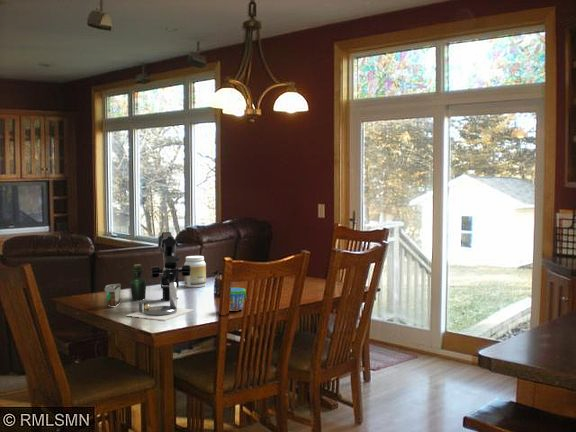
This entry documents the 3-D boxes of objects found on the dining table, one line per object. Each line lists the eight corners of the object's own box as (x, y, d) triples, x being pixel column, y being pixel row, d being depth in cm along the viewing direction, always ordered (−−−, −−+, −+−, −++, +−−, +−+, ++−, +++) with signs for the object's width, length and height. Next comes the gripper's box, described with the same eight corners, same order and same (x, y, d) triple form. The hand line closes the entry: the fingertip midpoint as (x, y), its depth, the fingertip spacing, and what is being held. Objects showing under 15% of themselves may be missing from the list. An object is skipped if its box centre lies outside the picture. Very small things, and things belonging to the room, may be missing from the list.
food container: (108, 303, 325) (108, 283, 324) (121, 303, 325) (120, 283, 324) (102, 308, 312) (101, 288, 312) (114, 308, 312) (114, 287, 312)
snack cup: (238, 306, 313) (237, 285, 312) (254, 309, 306) (253, 287, 305) (214, 312, 301) (214, 290, 300) (230, 315, 294) (230, 292, 294)
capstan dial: (137, 313, 296) (136, 285, 295) (157, 307, 309) (156, 279, 308) (163, 316, 289) (162, 287, 288) (183, 309, 302) (182, 281, 301)
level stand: (126, 316, 294) (125, 305, 294) (156, 307, 314) (155, 296, 313) (165, 320, 284) (164, 308, 284) (193, 310, 304) (193, 299, 304)
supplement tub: (210, 285, 373) (209, 256, 372) (197, 288, 362) (196, 258, 361) (193, 283, 379) (193, 254, 378) (180, 286, 369) (179, 257, 368)
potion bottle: (139, 297, 339) (138, 263, 338) (150, 298, 335) (149, 264, 334) (127, 299, 333) (126, 265, 331) (138, 301, 328) (137, 266, 327)
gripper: (150, 250, 310) (151, 276, 300) (189, 248, 315) (192, 274, 304) (150, 264, 318) (151, 290, 308) (188, 262, 323) (191, 288, 313)
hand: (171, 285), depth 308 cm, fingers closed
